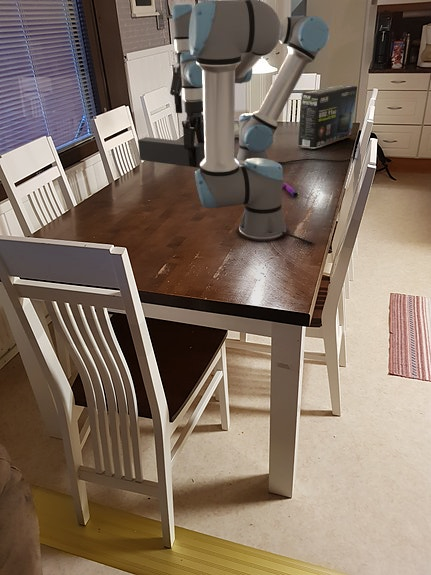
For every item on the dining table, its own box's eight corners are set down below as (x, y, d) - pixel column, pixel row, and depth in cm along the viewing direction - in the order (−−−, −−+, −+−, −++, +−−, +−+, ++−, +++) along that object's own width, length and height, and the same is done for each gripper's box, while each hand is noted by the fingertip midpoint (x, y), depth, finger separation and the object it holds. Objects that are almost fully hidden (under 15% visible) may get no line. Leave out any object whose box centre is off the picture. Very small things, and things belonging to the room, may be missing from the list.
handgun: (264, 183, 192) (264, 178, 191) (281, 181, 193) (281, 176, 192) (279, 199, 175) (279, 194, 174) (298, 197, 176) (298, 192, 175)
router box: (314, 151, 231) (318, 94, 217) (296, 148, 237) (299, 92, 224) (352, 138, 251) (358, 85, 238) (335, 135, 258) (340, 83, 245)
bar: (207, 164, 178) (207, 143, 174) (200, 168, 174) (199, 146, 170) (148, 156, 191) (145, 137, 187) (140, 160, 187) (137, 140, 183)
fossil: (240, 133, 254) (221, 116, 257) (229, 149, 261) (212, 132, 264) (255, 132, 268) (238, 116, 271) (245, 147, 274) (228, 131, 277)
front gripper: (198, 95, 174) (201, 157, 186) (170, 103, 160) (175, 169, 172) (215, 96, 171) (217, 159, 183) (188, 105, 157) (192, 171, 169)
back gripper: (193, 48, 187) (196, 104, 198) (157, 54, 168) (163, 115, 179) (209, 48, 183) (211, 105, 194) (174, 54, 165) (178, 116, 176)
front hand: (197, 164), depth 177 cm, fingers closed on bar, 5 cm apart
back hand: (188, 110), depth 187 cm, fingers open, 13 cm apart
